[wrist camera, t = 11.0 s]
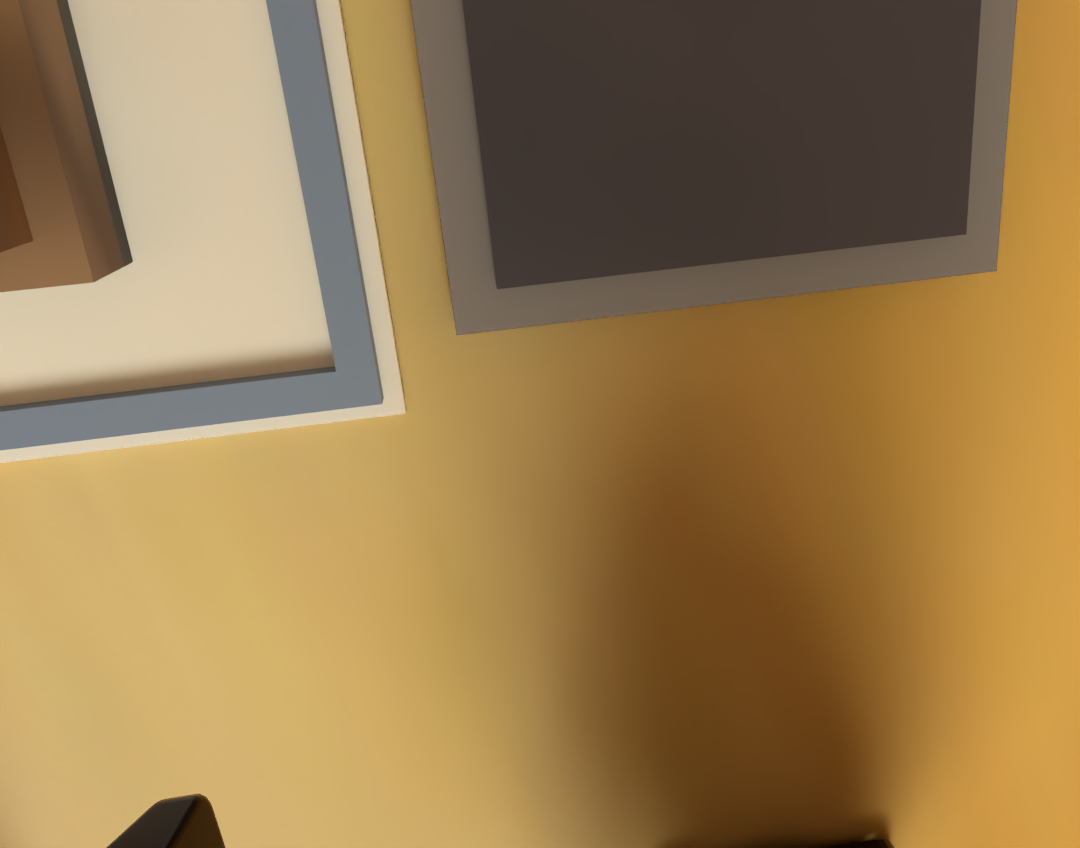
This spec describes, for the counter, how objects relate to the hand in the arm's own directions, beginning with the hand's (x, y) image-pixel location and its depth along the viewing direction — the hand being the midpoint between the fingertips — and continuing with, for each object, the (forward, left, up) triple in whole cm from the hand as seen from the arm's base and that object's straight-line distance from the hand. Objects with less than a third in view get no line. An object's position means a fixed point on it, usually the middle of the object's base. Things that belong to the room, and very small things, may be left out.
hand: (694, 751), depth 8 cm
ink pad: (+7, -3, -12) cm, 14 cm away
